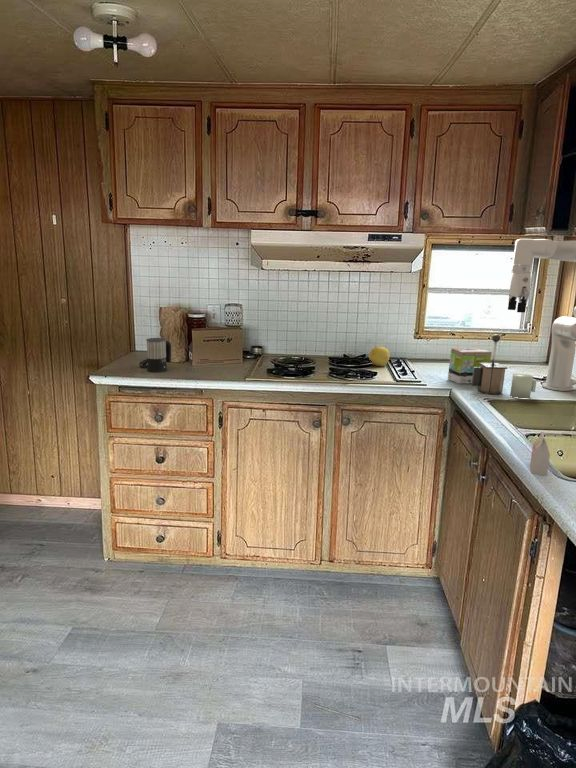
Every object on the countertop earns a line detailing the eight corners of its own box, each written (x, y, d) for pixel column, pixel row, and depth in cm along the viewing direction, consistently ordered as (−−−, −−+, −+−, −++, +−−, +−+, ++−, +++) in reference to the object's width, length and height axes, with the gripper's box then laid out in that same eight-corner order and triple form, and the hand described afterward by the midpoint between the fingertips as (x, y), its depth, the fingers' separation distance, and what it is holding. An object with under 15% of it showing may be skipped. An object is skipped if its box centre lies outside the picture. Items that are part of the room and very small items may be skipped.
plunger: (496, 370, 225) (501, 333, 221) (502, 374, 219) (507, 335, 215) (481, 370, 225) (486, 333, 221) (487, 373, 219) (491, 335, 215)
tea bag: (544, 466, 145) (550, 432, 142) (546, 476, 139) (552, 440, 136) (530, 464, 146) (535, 430, 144) (531, 473, 140) (536, 438, 138)
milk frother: (162, 373, 242) (161, 341, 238) (130, 371, 244) (128, 339, 241) (174, 366, 256) (173, 336, 252) (143, 364, 258) (142, 334, 254)
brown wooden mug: (496, 389, 229) (500, 362, 226) (506, 395, 219) (509, 367, 217) (467, 388, 229) (470, 362, 226) (475, 394, 219) (478, 367, 216)
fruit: (392, 365, 272) (393, 346, 270) (382, 368, 264) (383, 349, 262) (374, 362, 279) (376, 343, 276) (364, 365, 270) (365, 346, 268)
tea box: (459, 384, 236) (463, 352, 232) (447, 379, 245) (450, 348, 242) (488, 383, 240) (492, 351, 236) (474, 378, 249) (478, 347, 246)
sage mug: (528, 394, 221) (531, 373, 219) (537, 399, 214) (540, 378, 212) (507, 394, 221) (509, 373, 219) (514, 399, 214) (517, 377, 212)
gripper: (540, 270, 210) (533, 313, 214) (522, 269, 227) (516, 309, 231) (521, 270, 210) (515, 313, 214) (504, 268, 227) (499, 308, 231)
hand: (516, 311), depth 223 cm, fingers open, 9 cm apart
